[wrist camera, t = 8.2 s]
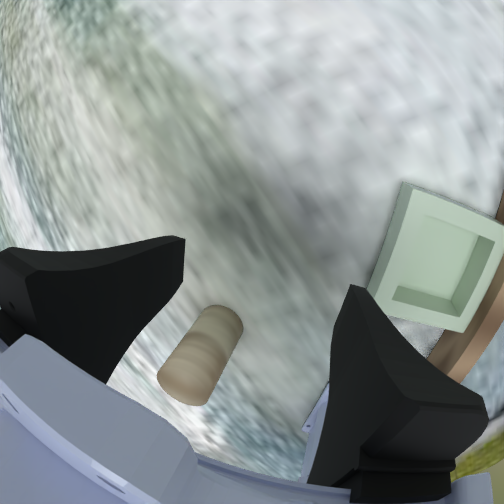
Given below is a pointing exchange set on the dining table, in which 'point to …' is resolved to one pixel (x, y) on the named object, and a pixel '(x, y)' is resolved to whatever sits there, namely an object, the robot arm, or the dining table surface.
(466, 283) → the holder
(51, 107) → the dining table surface
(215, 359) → the dowel
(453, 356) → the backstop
